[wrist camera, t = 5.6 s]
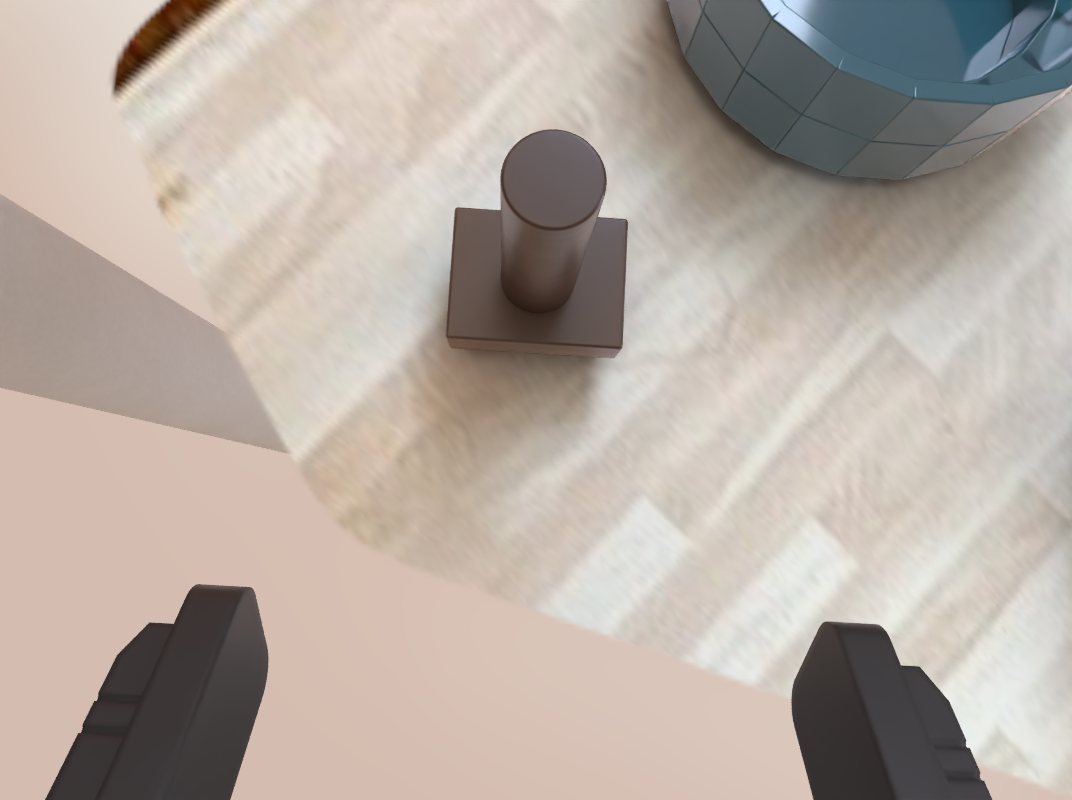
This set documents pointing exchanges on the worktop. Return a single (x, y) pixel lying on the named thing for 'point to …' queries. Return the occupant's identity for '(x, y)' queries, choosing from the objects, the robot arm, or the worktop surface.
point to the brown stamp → (541, 257)
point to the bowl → (879, 75)
